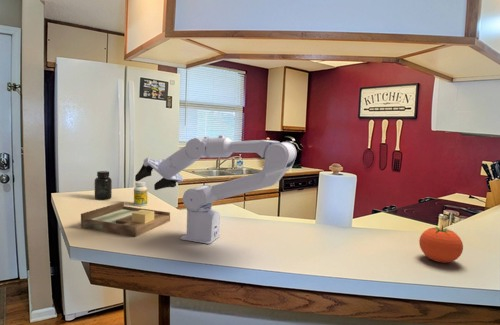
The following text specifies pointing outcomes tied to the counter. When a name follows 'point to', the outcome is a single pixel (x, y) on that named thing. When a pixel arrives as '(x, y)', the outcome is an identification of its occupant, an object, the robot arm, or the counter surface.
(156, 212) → the box
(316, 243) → the counter surface
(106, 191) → the supplement bottle
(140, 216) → the block
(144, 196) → the supplement bottle
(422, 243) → the tomato
